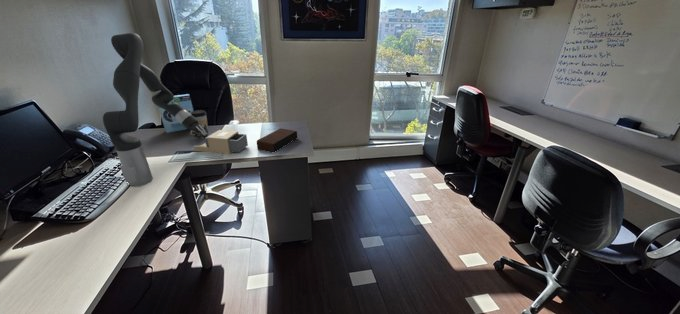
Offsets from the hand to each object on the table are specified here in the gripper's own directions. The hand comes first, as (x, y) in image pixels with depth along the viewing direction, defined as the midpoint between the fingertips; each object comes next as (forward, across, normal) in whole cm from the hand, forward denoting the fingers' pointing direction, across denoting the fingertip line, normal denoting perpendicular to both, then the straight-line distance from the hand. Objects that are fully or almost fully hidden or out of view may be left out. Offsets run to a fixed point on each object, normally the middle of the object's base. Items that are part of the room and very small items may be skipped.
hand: (210, 140), depth 162 cm
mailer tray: (+10, 0, -5) cm, 11 cm away
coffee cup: (-10, +19, +17) cm, 27 cm away
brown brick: (+29, +12, -22) cm, 39 cm away
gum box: (-24, +24, +31) cm, 46 cm away
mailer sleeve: (+6, 0, 0) cm, 6 cm away
